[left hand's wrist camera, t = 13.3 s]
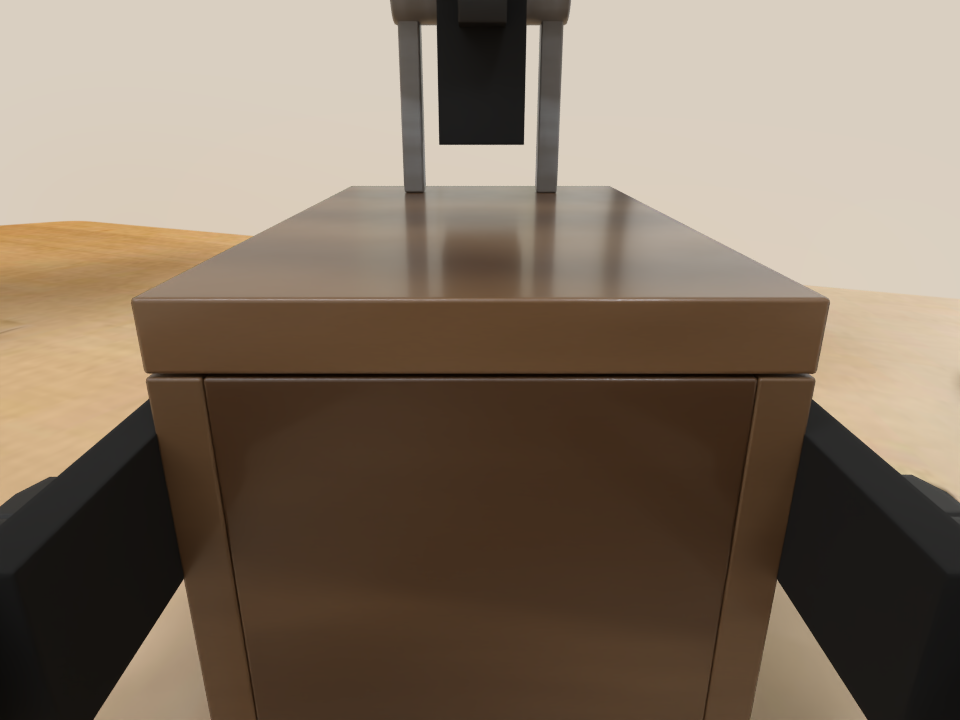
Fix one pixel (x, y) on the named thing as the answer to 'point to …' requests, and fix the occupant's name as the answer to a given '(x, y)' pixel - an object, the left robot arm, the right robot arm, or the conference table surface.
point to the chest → (480, 540)
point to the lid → (480, 275)
